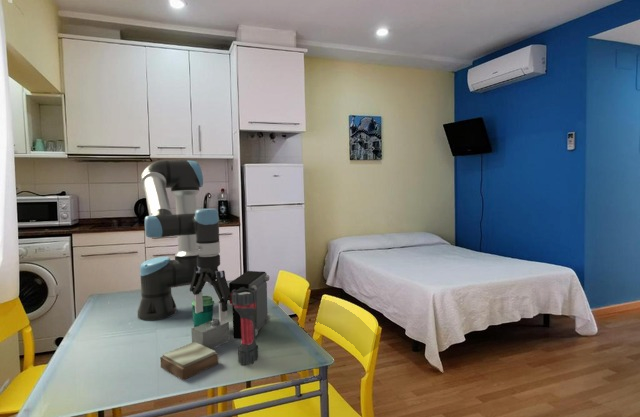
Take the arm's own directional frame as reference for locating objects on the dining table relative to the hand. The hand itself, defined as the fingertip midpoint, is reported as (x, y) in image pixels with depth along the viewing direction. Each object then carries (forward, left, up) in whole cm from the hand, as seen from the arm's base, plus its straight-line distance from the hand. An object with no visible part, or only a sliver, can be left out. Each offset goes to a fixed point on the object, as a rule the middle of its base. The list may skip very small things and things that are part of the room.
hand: (210, 316), depth 129 cm
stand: (+7, -13, -10) cm, 18 cm away
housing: (0, 0, -10) cm, 10 cm away
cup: (-13, +6, -10) cm, 18 cm away
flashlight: (+19, -1, -10) cm, 22 cm away
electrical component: (+1, +17, -10) cm, 20 cm away
